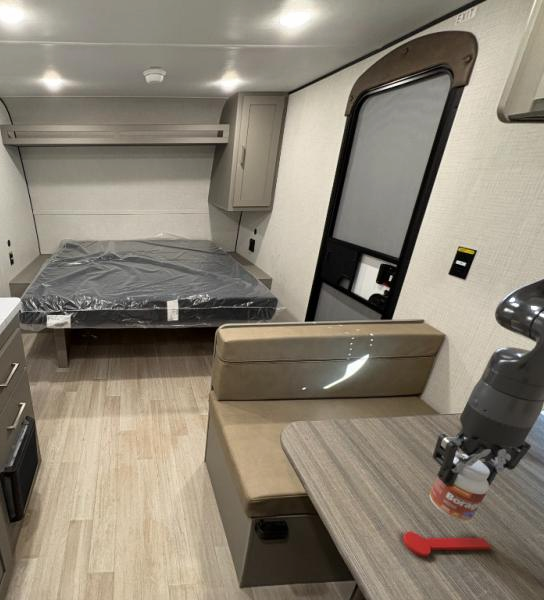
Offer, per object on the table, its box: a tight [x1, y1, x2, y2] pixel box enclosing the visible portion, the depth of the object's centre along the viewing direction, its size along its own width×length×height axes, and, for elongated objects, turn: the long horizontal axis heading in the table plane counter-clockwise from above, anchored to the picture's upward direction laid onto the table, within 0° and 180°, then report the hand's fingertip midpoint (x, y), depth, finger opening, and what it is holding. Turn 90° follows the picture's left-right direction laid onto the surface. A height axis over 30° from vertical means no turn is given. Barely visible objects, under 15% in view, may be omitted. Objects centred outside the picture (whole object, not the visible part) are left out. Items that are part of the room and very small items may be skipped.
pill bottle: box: [429, 453, 490, 522], centre depth 59 cm, size 6×6×11 cm
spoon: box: [402, 531, 492, 558], centre depth 58 cm, size 15×4×1 cm, turn 90°
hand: (462, 481), depth 58 cm, fingers closed on pill bottle, 6 cm apart
